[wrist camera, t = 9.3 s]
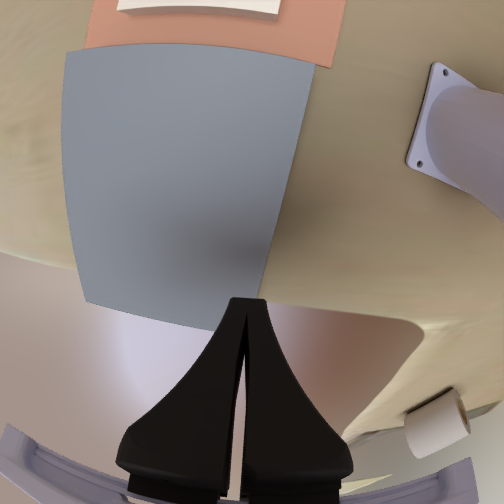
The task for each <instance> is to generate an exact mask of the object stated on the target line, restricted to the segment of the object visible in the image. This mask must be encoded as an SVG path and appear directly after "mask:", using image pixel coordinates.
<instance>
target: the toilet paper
mask: <svg viewBox="0 0 504 504" xmlns="http://www.w3.org/2000/svg"><path fill="white" fill-rule="evenodd" d="M404 428H405V434H406V438H407V442H408V445H409V447H410V449H411V451H412V453H413V454H414V455H415V456H416V457H417V458H422V457H425V456H427V455H429V454H431V453H434V452H436V451H438V450H440V449H442V448H444V447H446V446H448V445H450V444H452V443H454V442H456V441H458V440H460V439H461V438H463V437H465V436H467V435H469V434H470V424H469V420H468V416H467V413H466V410H465V407H464V405H463V402H462V400H461V398H460V396H459V394H458V392H457V391H456V390H455V389H454V388H453V389H452V390H450V391H448V392H447V393H445V394H443V395H442V396H440V397H438V398H437V399H435V400H433V401H431V402H430V403H428V404H426V405H424V406H422V407H420V408H419V409H417V410H415V411H413V412H411V413H409V414H407V415H406V416H405V419H404Z"/></svg>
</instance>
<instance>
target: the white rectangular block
mask: <svg viewBox="0 0 504 504" xmlns="http://www.w3.org/2000/svg"><path fill="white" fill-rule="evenodd" d="M280 3H281V0H119V2H118V6H117V11H119V12H122V13H125V14H127V15H130V16H134V15H146V14H167V13H195V14H215V15H228V16H237V17H246V18H253V19H260V20H266V21H272V22H276V20H277V16H278V11H279V7H280Z"/></svg>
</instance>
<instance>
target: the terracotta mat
mask: <svg viewBox="0 0 504 504" xmlns="http://www.w3.org/2000/svg"><path fill="white" fill-rule="evenodd" d="M118 2H119V0H94V3H93V7H92V12H91V16H90V20H89V25H88V30H87V36H86V41H85V47H84V49H91V48H99V47H107V46H118V45H132V44H195V45H209V46H220V47H229V48H237V49H245V50H251V51H257V52H263V53H269V54H274V55H279V56H284V57H288V58H293V59H297V60H301V61H305V62H309V63H313V64H317V65H320V66H324V67H327V68H331V66H332V62H333V58H334V54H335V49H336V45H337V40H338V36H339V31H340V27H341V22H342V17H343V13H344V8H345V3H346V0H281V3H280V7H279V11H278V16H277V20H276V22H272V21H266V20H260V19H253V18H246V17H237V16H228V15H215V14H195V13H167V14H146V15H134V16H130V15H127V14H125V13H122V12H119V11H117V6H118Z"/></svg>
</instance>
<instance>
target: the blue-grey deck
mask: <svg viewBox="0 0 504 504" xmlns="http://www.w3.org/2000/svg"><path fill="white" fill-rule="evenodd" d="M315 66H316V64H313V63H309V62H305V61H301V60H297V59H293V58H288V57H284V56H279V55H274V54H269V53H263V52H257V51H251V50H245V49H237V48H229V47H220V46H209V45H195V44H132V45H118V46H108V47H99V48H91V49H84V50H78V51H72V52H67V54H66V62H65V70H64V80H63V93H62V117H61V141H62V165H63V179H64V190H65V199H66V207H67V214H68V221H69V228H70V234H71V239H72V245H73V250H74V255H75V259H76V264H77V268H78V273H79V277H80V281H81V285H82V289H83V293H84V296H85V300H86V302H90V303H93V304H96V305H100V306H104V307H107V308H111V309H115V310H118V311H122V312H126V313H130V314H134V315H138V316H142V317H147V318H151V319H155V320H160V321H164V322H169V323H174V324H178V325H183V326H189V327H193V328H199V329H204V330H209V331H216V329H217V327H218V325H219V323H220V322H221V319H222V317H223V315H224V313H225V311H226V309H227V306H228V303H229V300H230V298H232V297H241V298H257V295H258V291H259V287H260V284H261V280H262V276H263V273H264V269H265V265H266V261H267V258H268V254H269V250H270V246H271V243H272V239H273V235H274V231H275V227H276V224H277V220H278V216H279V212H280V208H281V204H282V201H283V197H284V193H285V189H286V185H287V181H288V177H289V173H290V169H291V165H292V161H293V157H294V153H295V149H296V145H297V141H298V137H299V133H300V129H301V125H302V121H303V117H304V113H305V108H306V104H307V100H308V96H309V92H310V87H311V83H312V79H313V75H314V70H315Z"/></svg>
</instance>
